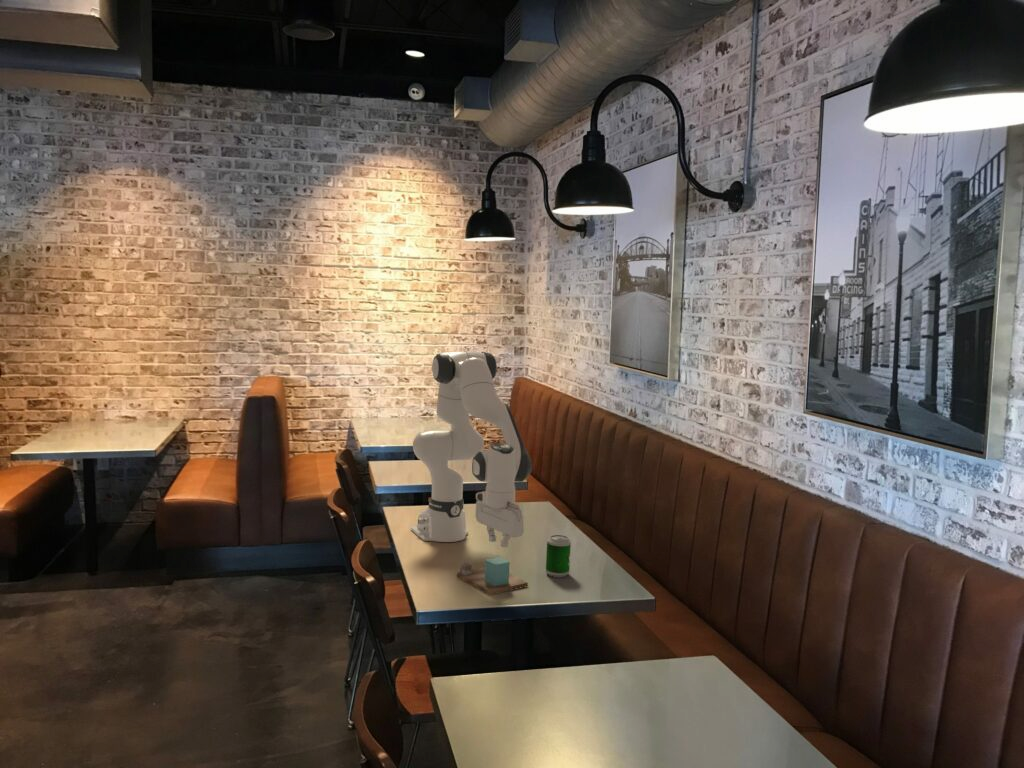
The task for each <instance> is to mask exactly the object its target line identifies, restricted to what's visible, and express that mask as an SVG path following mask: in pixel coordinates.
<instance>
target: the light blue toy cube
mask: <svg viewBox="0 0 1024 768" xmlns="http://www.w3.org/2000/svg"><path fill="white" fill-rule="evenodd" d="M510 564H511V563H510V561H509V560H507V559H504V558H502V557H500V556H498V557H494V558H487V559H485V565H484V567H485V581H486V582H487V583H489V584H491V585H493V586H498V585H503V584H508V583H509V574H510Z"/></svg>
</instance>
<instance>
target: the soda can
mask: <svg viewBox="0 0 1024 768" xmlns="http://www.w3.org/2000/svg"><path fill="white" fill-rule="evenodd" d="M571 543H572V541H571V539H570V538H569V537H568V536H567V535H563V534H553V535H550V536H549V538H547V542H546V557H545V558H546V559H545V560H546V561H545V572H546V573H547V575H548V574H549V575H548V576H550V577H552V576H553V577H552V578H565V577H566V576H567V575H568V574H569V573H570V566H571V548H572V547H571V545H572V544H571Z"/></svg>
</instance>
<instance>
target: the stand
mask: <svg viewBox="0 0 1024 768" xmlns="http://www.w3.org/2000/svg"><path fill="white" fill-rule="evenodd" d="M472 565H473V564H471V563H469V562H462V563H459V572H456V576H457V578H458V577H459V578H458V579H460V578H461V579H460V580H462V579H463V580H462V581H464V580H465V581H466V582H465V581H464V582H465V583H467V582H468V583H467V584H469V583H470V584H469V585H471V584H472V585H471V586H473V587H474V586H475V587H474V588H476V587H477V588H476V589H478V588H479V589H478V590H480V591H482V590H483V591H484V592H483V591H482V592H483V593H485V592H486V593H485V594H487V593H488V594H487V595H489V594H492V595H494V594H493V593H496V594H499V593H498V592H501V593H503V592H502V591H505V592H509V591H508V590H510V591H512V590H511V589H514V590H517V589H516V588H519V589H521V588H520V587H523V588H526V587H525V586H528V585H529V582H527V581H525V580H524V579H521V578H519V577H517V576H515V575H513V574H511V573H509V583H508V584H503V585H498V586H493V585H491V584H489V583H487V582H486V581H485V566H484V567H479V568H473V569H472Z"/></svg>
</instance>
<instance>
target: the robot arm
mask: <svg viewBox="0 0 1024 768" xmlns="http://www.w3.org/2000/svg"><path fill="white" fill-rule="evenodd" d="M497 365H498V364H497V359H496V357H495V356H494V355H493V354H492V353H490V352H487V351H486V352H485V351H481V352H480V351H469V350H468V351H467V350H464V351H452V352H447V351H443V352H440V353H437V354H436V355H435V356H434V358H433V360H432V364H431V371H432V372H431V373H432V376H433V378H434V380H435V382H437V383H439V385H438V391H437V402H436V414H437V416H438V418H439V420H441V421H443V422H445V423H447V424H449V425H450V429H432V430H425V431H421V432H418V433H417V434H416V436H414V439H413V442H412V450H413V453H414V455H415V457H416V458H417V459H418V460H420V461H421V462H422V463H423V464H424V466H426V467H427V470H428V471H429V474H430V478H431V497H428V500H427V501H428V502H429V503H428V507H427V508H426V509H424V510H423V511H421V512H420V513H419V514H418V516H417V524H415V525H413V526H411V527H410V531H412V532H413V533H414V534H415V535H416V536H417V537H418V538H419V539H421V540H422V541H426V542H428V541H429V542H438V543H452V542H455V543H456V542H458V541H459V542H460V541H463V540H464V539H466V536H467V535H468V534H469V530H468V529H467V525H466V524H467V523H466V521H467V520H466V513H465V512H466V511H464V510H463V509H464V505H465V503H464V498H463V496H464V495H463V493H464V491H463V489H464V479H463V476H462V475H461V473H459V472H458V471H457V470H454V469H452V468H450V467H449V465H448V464H449V463H448V462H451V461H452V462H453V461H469V460H472V461H471V462H472V463H471V464H472V465H471V466H472V467H471V470H472V471H471V472H472V475H473V477H474V478H476V480H478V481H479V482H482V483H483V482H485V483H486V487H485V491H479V492H477V493H475V500H476V502H475V519H476V522H477V523H479V524H482V525H484V526H486V531H487V534H488V541H489V542H491V543H495V542H497V535H496V533H495V530H496V531H497V532H500V533H502V540H500V546H501V548H507V547H508V546H509V541H510V540H511V538H519V537H522V536H523V534H524V533H525V532H524V529H525V528H524V526H525V525H524V516H523V512H522V510H521V508H520V506H519V505H518V504H515V503H516V485H515V482H516V483H517V482H518V483H522V482H524V481H525V480H526V479H527V478H528V477H529V476H530V475H531V473H532V470H533V463H532V458H531V457H530V454H529V453H528V451H527V449H526V447H525V446H524V443H523V440H522V439H523V438H522V437H521V434H520V432H519V430H518V429H519V428H518V426H517V423H516V421H515V418H514V416H513V414H512V412H511V409H510V407H509V405H508V404H506V403H504V402H503V401H502V399H501V398H500V397H499V395H498V394H497V391H496V389H495V383H494V379H495V378H496V374H497V371H498V366H497ZM470 415H471V416H472V417H474V418H477V419H478V420H479V419H480V420H483V421H486V422H488V423H491V424H493V425H494V426H496V427H497V428H498V429H499V430H500V431H501V433H502V436H503V440H504V442H505V443H502V442H501V443H500V442H498V443H493V444H490V446H489V447H488V448H487V449H486V450H484V449H485V440H484V437H483V435H482V434H481V433H480V432H479V431H478V430H476V429H475V428H474V426H473V425H472V422H471V420H470V417H469V416H470Z"/></svg>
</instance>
